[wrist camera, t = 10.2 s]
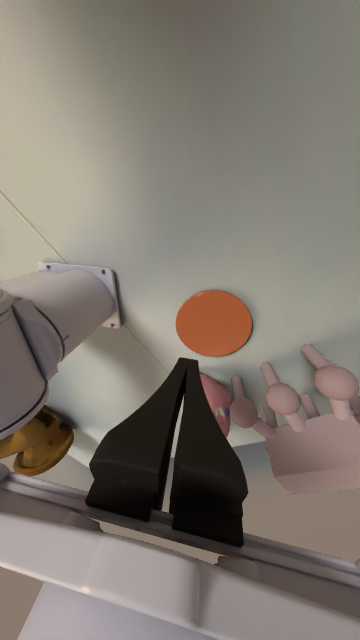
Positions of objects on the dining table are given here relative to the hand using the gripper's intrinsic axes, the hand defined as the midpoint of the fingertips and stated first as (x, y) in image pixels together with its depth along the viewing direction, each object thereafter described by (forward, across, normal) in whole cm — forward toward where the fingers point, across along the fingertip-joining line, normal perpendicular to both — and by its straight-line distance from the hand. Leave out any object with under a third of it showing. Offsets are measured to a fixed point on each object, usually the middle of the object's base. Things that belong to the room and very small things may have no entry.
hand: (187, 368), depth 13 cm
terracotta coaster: (+9, -2, +2) cm, 10 cm away
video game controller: (+10, -3, +14) cm, 17 cm away
